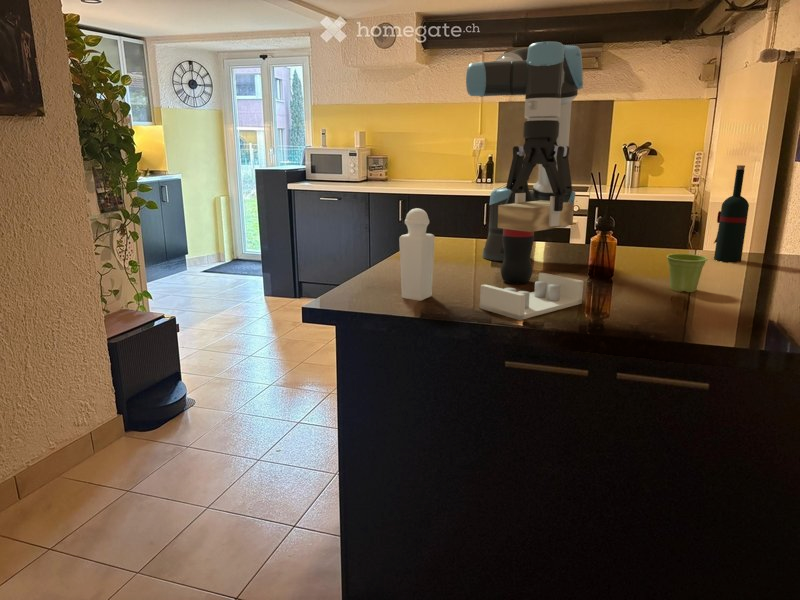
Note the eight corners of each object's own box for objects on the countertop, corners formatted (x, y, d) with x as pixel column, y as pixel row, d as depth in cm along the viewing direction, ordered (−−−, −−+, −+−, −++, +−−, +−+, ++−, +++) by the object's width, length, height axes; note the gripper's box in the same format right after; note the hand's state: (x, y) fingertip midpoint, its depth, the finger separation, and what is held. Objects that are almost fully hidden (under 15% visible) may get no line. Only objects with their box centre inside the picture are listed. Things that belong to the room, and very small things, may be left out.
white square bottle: (421, 301, 141) (422, 210, 135) (398, 298, 144) (398, 208, 139) (434, 296, 146) (435, 207, 141) (412, 292, 150) (412, 206, 144)
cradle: (541, 293, 148) (542, 272, 147) (581, 303, 139) (583, 281, 137) (479, 308, 135) (480, 285, 134) (519, 320, 126) (520, 295, 125)
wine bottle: (724, 256, 196) (737, 164, 188) (747, 262, 186) (761, 165, 178) (703, 257, 194) (715, 164, 186) (725, 263, 184) (739, 166, 177)
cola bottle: (533, 279, 164) (539, 170, 156) (529, 286, 156) (536, 171, 148) (503, 277, 166) (507, 169, 158) (498, 284, 158) (502, 171, 151)
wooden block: (531, 232, 124) (532, 208, 122) (497, 227, 130) (498, 205, 129) (572, 224, 134) (574, 202, 133) (539, 221, 141) (540, 200, 139)
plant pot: (686, 296, 145) (691, 261, 143) (655, 288, 153) (658, 255, 151) (711, 291, 150) (715, 258, 147) (679, 284, 158) (683, 252, 155)
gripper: (492, 121, 132) (489, 220, 138) (573, 117, 116) (565, 230, 121) (515, 121, 137) (510, 217, 143) (596, 118, 120) (587, 227, 126)
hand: (535, 223), depth 132 cm, fingers closed on wooden block, 9 cm apart
